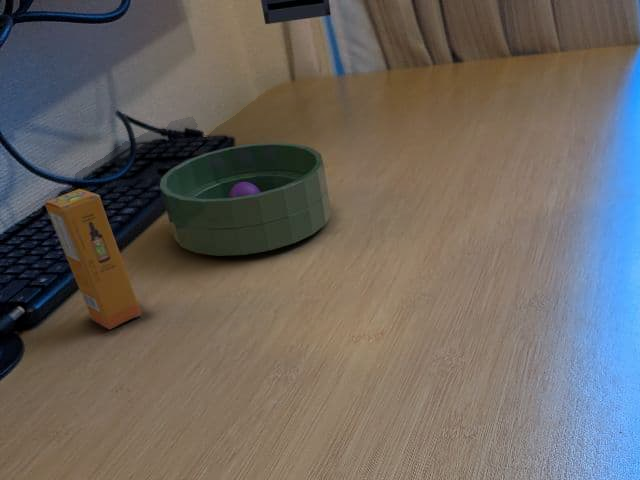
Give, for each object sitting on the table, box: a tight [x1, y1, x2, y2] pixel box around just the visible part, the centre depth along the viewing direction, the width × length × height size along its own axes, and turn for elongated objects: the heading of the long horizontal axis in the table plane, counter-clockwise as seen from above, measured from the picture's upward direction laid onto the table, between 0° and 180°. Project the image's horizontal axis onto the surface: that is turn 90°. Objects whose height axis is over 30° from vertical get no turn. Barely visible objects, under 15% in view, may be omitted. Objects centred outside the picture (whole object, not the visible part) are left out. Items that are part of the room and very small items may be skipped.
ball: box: [229, 182, 260, 198], centre depth 80 cm, size 3×3×3 cm
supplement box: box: [44, 188, 142, 330], centre depth 65 cm, size 3×3×10 cm
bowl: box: [159, 142, 332, 257], centre depth 78 cm, size 15×15×6 cm
